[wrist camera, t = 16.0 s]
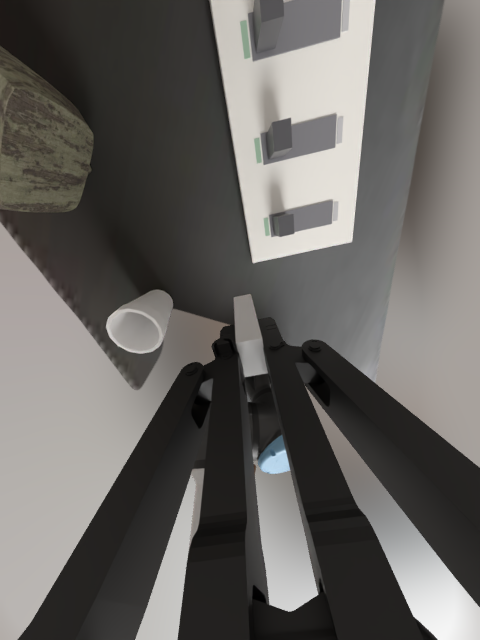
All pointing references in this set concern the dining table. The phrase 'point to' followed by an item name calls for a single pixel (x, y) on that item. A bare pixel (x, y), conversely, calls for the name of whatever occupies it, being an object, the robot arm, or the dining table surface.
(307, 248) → the breaker panel
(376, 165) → the dining table surface
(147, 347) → the foam cup
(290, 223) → the handle
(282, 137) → the handle
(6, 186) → the tabletop clock
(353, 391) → the robot arm
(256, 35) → the handle
